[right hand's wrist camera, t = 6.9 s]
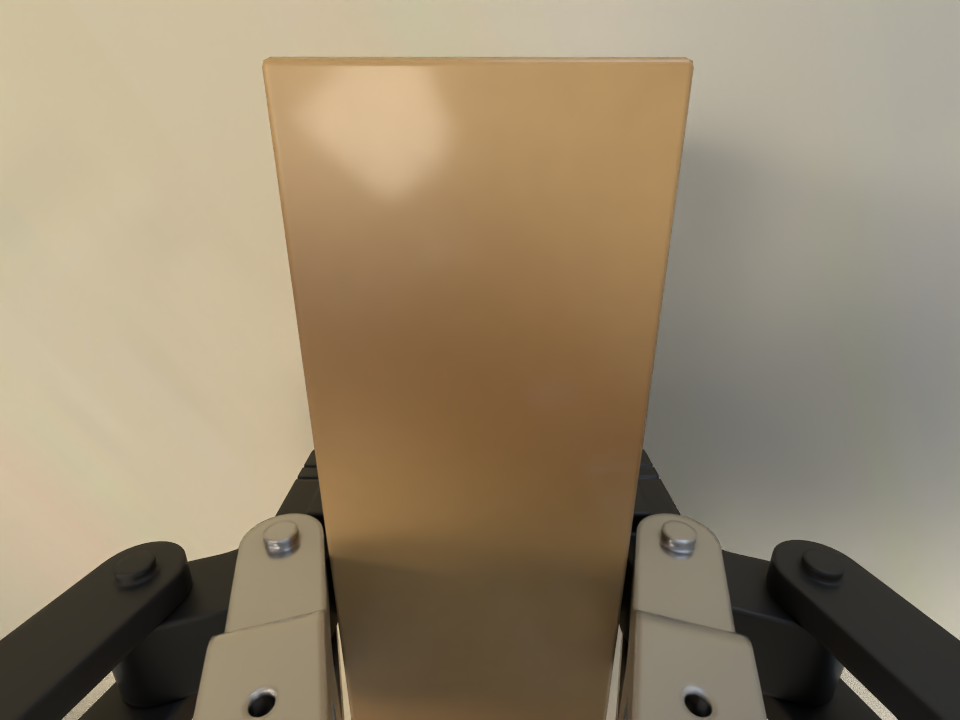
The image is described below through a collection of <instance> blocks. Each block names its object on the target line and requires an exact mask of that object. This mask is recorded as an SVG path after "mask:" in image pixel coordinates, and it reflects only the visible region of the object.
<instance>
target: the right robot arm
mask: <svg viewBox="0 0 960 720" xmlns="http://www.w3.org/2000/svg"><path fill="white" fill-rule="evenodd" d="M337 623H338V617H337V609H336V602H335V595H334V588H333V580H332V573H331V566H330V558H329V551H328V544H327V536H326V529H325V522H324V514H323V507H322V500H321V492H320V485H319V478H318V471H317V463H316V456H315V449H314V450H313V451H312V452H311V454H310V456H309V458H308V459H307V461H306V463H305V465H304V468H302V470H301V472H300V473H299V475H298V479H296V481H295V482H294V484H293V486H292V488H291V489H290V491H289V493H288V495H287V496H286V498H285V500H284V502H283V504H282V505H281V507H280V509H279V511H278V512H277V514H276V516H275V517H272V518H270V519H267V520H265V521H263V522H261V523H259V524H258V525H256V526H255V527H253V528H252V529H251V530H250V531H249V532H247V533H246V535H245V536H244V537H243V539H242V540H241V542H240V545H239V549H236V550H234V551H231V552H228V553H224V554H220V555H216V556H211V557H207V558H202V559H198V560H194V561H189V562H188V561H187V558H186V554H185V551H184V550H183V548H182V547H181V546H179V545H178V544H175V543H172V542H165V541H158V542H150V543H145V544H141V545H137V546H134V547H132V548H129V549H126V550H124V551H122V552H120V553H118V554H116V555H115V556H113V557H111V558H110V559H108V560H107V561H105V562H104V563H102V564H101V565H100V566H98V567H97V568H96V569H94V570H93V571H92V572H90V573H89V574H88V575H87V576H85V577H84V578H83V579H81V580H80V581H79V582H77V583H76V584H75V585H73V586H72V587H71V588H69V589H68V590H67V591H65V592H64V593H63V594H61V595H60V596H59V597H57V598H56V599H55V600H53V601H52V602H51V603H49V604H48V605H47V606H45V607H44V608H43V609H41V610H40V611H39V612H37V613H36V614H35V615H34V616H32V617H31V618H30V619H28V620H27V621H26V622H24V623H23V624H22V625H20V626H19V627H18V628H16V629H15V630H14V631H12V632H11V633H10V634H8V635H7V636H6V637H4V638H3V639H2V640H0V720H62V719H63V717H64V716H65V715H66V714H67V713H69V712H70V711H71V710H72V709H73V708H74V707H75V706H76V705H77V704H78V703H79V702H80V701H81V700H82V699H83V698H84V697H85V696H86V695H87V694H88V693H89V692H90V691H91V690H92V689H93V688H94V687H95V686H96V685H97V684H98V683H99V682H100V681H102V680H103V679H104V678H105V677H106V676H107V675H108V674H109V673H110V672H111V671H112V672H113V674H114V677H115V680H116V682H115V683H114V684H113V685H112V686H111V687H110V688H109V689H108V690H107V691H106V692H105V693H104V694H103V695H102V696H101V697H100V698H99V699H98V700H97V701H96V702H95V703H94V704H93V705H92V706H91V707H90V708H89V709H88V710H87V711H86V712H85V713H84V714H83V715H82V716H81V717H80V718H79V719H78V720H192V719H193V720H344V710H343V695H342V680H341V666H340V651H339V640H338V633H337ZM619 625H620V628H621V631H622V640H621V650H620V665H619V679H618V694H617V709H616V720H767V719H768V720H882V719H881V718H880V717H879V716H878V715H877V714H876V713H875V712H874V711H873V710H872V709H871V708H870V707H869V706H868V705H867V704H866V703H865V702H864V701H863V700H862V699H861V698H860V697H859V696H858V695H857V694H856V693H855V692H854V691H853V690H852V689H851V688H850V687H849V686H848V685H847V684H846V683H845V682H844V681H843V680H842V679H841V678H840V676H841V673H842V670H843V668H844V667H845V668H846V669H847V670H848V671H849V672H850V673H851V674H852V675H853V676H854V677H855V678H856V679H857V680H858V681H860V682H861V683H862V684H863V685H864V686H865V687H866V688H867V689H868V690H869V691H870V692H871V693H872V694H873V695H874V696H875V697H876V698H877V699H878V700H879V701H880V702H881V703H882V704H883V705H884V706H885V707H886V708H887V709H888V710H889V711H890V712H891V713H892V714H893V715H894V716H895V717H896V718H897V719H898V720H960V640H958V639H957V638H956V637H954V636H953V635H952V634H950V633H949V632H948V631H946V630H945V629H944V628H942V627H941V626H940V625H938V624H937V623H936V622H934V621H933V620H932V619H930V618H929V617H928V616H926V615H925V614H924V613H922V612H921V611H920V610H919V609H917V608H916V607H915V606H913V605H912V604H911V603H909V602H908V601H907V600H905V599H904V598H903V597H901V596H900V595H899V594H897V593H896V592H895V591H893V590H892V589H891V588H889V587H888V586H887V585H885V584H884V583H883V582H881V581H880V580H879V579H877V578H876V577H875V576H873V575H872V574H871V573H870V572H868V571H867V570H866V569H864V568H863V567H862V566H860V565H859V564H858V563H856V562H855V561H854V560H852V559H851V558H849V557H848V556H846V555H844V554H843V553H841V552H839V551H837V550H835V549H833V548H830V547H828V546H825V545H822V544H819V543H815V542H811V541H805V540H789V541H785V542H782V543H780V544H778V545H777V546H776V547H775V548H774V550H773V553H772V557H771V561H766V560H762V559H757V558H753V557H748V556H744V555H739V554H735V553H731V552H728V551H725V550H722V549H721V546H720V542H719V541H718V539H717V537H716V536H715V535H714V534H713V533H712V532H711V531H710V530H709V529H708V528H707V527H705V526H704V525H702V524H701V523H699V522H697V521H695V520H693V519H690V518H688V517H685V516H681V515H680V513H679V511H678V509H677V508H676V506H675V504H674V502H673V500H672V499H671V497H670V495H669V493H668V491H667V490H666V488H665V486H664V484H663V482H662V481H661V479H659V475H658V474H657V472H656V470H655V468H654V467H652V463H651V461H650V459H649V457H648V456H647V454H646V452H645V450H643V449H642V455H641V462H640V470H639V477H638V484H637V492H636V499H635V507H634V514H633V522H632V529H631V536H630V544H629V551H628V559H627V566H626V574H625V581H624V588H623V596H622V603H621V611H620V618H619Z"/></svg>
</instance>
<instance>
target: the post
mask: <svg viewBox="0 0 960 720" xmlns="http://www.w3.org/2000/svg"><path fill="white" fill-rule="evenodd" d="M262 68H263V76H264V83H265V90H266V98H267V105H268V112H269V120H270V127H271V134H272V142H273V149H274V156H275V164H276V171H277V178H278V185H279V193H280V200H281V207H282V215H283V222H284V229H285V237H286V244H287V251H288V259H289V266H290V273H291V280H292V288H293V295H294V302H295V310H296V317H297V324H298V332H299V339H300V346H301V354H302V361H303V368H304V376H305V383H306V390H307V397H308V405H309V412H310V419H311V427H312V434H313V441H314V449H315V456H316V463H317V471H318V478H319V485H320V492H321V500H322V507H323V514H324V522H325V529H326V536H327V544H328V551H329V558H330V566H331V573H332V580H333V588H334V595H335V602H336V609H337V617H338V624H339V631H340V639H341V646H342V653H343V661H344V668H345V675H346V683H347V690H348V697H349V704H350V712H351V719H352V720H606V715H607V707H608V700H609V692H610V685H611V678H612V670H613V663H614V655H615V648H616V640H617V633H618V626H619V618H620V611H621V603H622V596H623V588H624V581H625V574H626V566H627V559H628V551H629V544H630V536H631V529H632V522H633V514H634V507H635V499H636V492H637V484H638V477H639V470H640V462H641V455H642V447H643V440H644V432H645V425H646V417H647V410H648V403H649V395H650V388H651V380H652V373H653V365H654V358H655V351H656V343H657V336H658V328H659V321H660V313H661V306H662V299H663V291H664V284H665V276H666V269H667V261H668V254H669V247H670V239H671V232H672V224H673V217H674V209H675V202H676V195H677V187H678V180H679V172H680V165H681V157H682V150H683V143H684V135H685V128H686V120H687V113H688V105H689V98H690V90H691V83H692V76H693V61H692V60H690V59H688V58H686V57H269V58H267V59H265V60H264V61H263V67H262Z"/></svg>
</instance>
